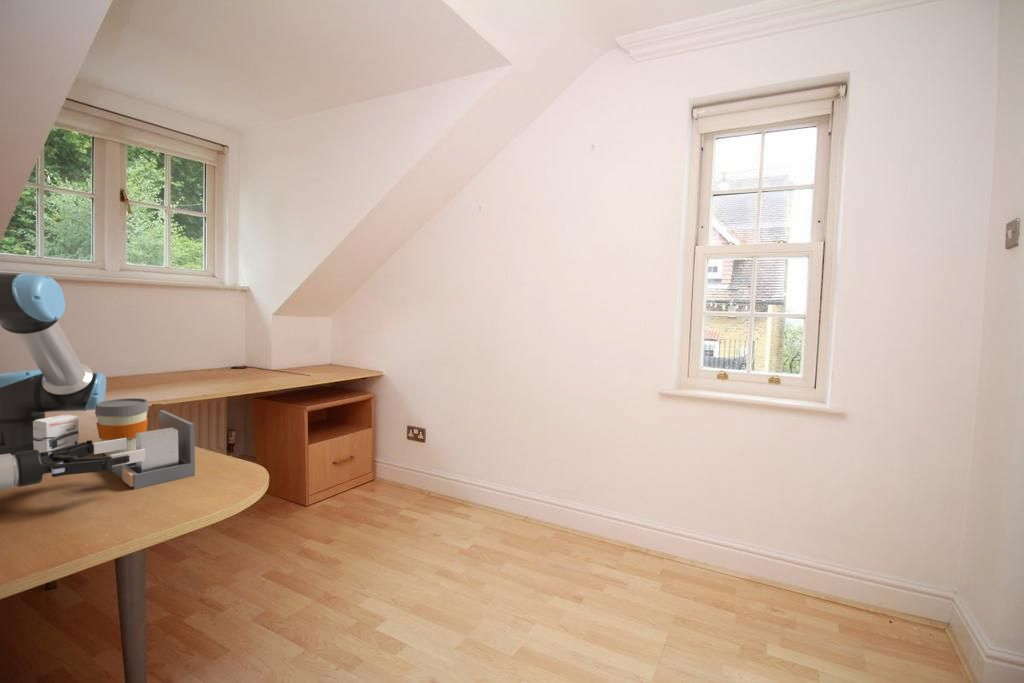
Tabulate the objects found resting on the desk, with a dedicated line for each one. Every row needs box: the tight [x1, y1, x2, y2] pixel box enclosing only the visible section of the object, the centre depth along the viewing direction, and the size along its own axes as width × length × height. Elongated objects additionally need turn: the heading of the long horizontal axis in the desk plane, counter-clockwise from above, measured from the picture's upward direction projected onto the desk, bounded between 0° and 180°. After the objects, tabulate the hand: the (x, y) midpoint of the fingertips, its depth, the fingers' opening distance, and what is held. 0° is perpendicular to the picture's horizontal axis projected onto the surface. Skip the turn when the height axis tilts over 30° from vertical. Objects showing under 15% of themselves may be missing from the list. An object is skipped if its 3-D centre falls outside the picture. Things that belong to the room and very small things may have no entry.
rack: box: [106, 409, 196, 490], centre depth 129 cm, size 23×14×14 cm, turn 53°
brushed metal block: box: [136, 428, 179, 474], centre depth 124 cm, size 4×8×12 cm, turn 143°
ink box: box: [33, 414, 80, 453], centre depth 136 cm, size 8×5×12 cm, turn 168°
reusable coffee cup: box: [94, 397, 149, 456], centre depth 144 cm, size 13×13×15 cm
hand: (135, 448), depth 120 cm, fingers open, 13 cm apart
